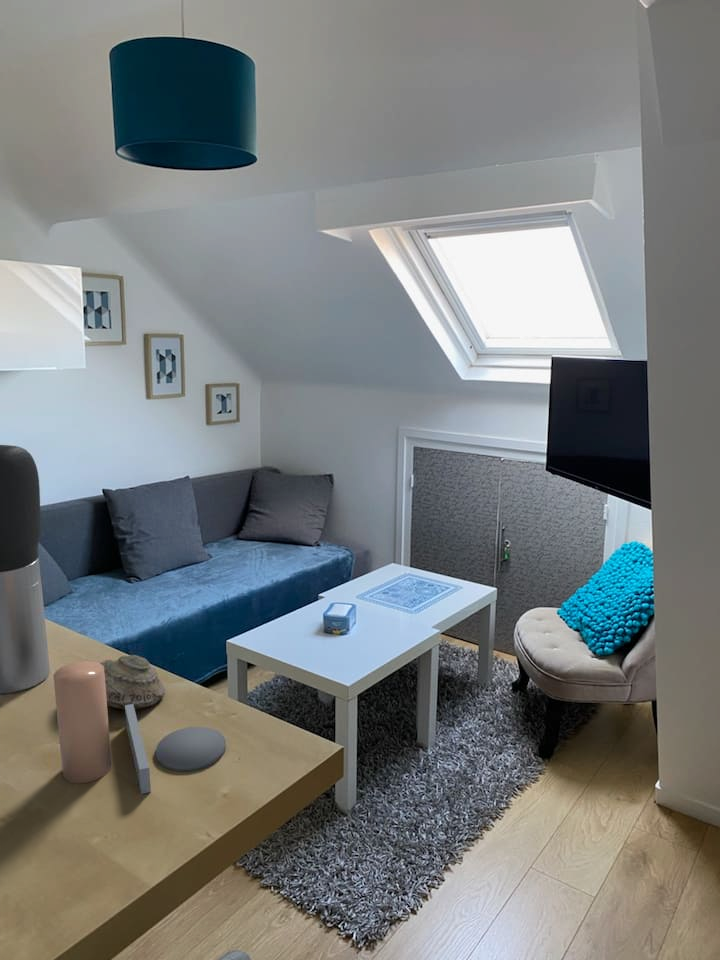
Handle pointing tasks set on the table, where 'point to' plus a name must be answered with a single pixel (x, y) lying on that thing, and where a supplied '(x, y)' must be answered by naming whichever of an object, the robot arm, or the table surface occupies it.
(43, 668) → the robot arm
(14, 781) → the table surface
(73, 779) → the peach rounded cylinder
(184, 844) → the table surface
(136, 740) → the gray rectangular bar
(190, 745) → the slate coaster
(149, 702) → the fossilized seashell
